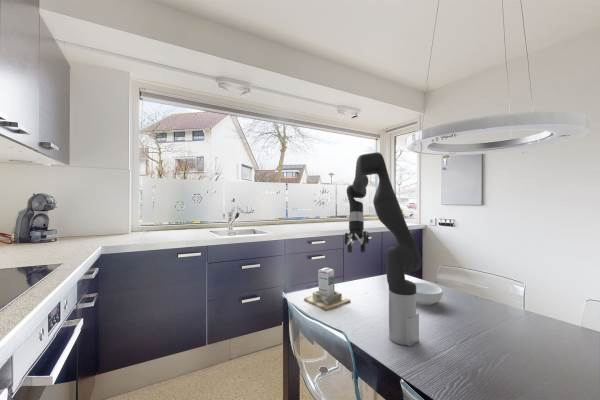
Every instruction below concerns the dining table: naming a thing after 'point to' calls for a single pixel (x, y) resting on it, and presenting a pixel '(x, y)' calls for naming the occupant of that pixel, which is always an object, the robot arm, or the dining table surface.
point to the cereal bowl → (427, 294)
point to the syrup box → (326, 282)
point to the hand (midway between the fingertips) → (356, 252)
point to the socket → (327, 300)
